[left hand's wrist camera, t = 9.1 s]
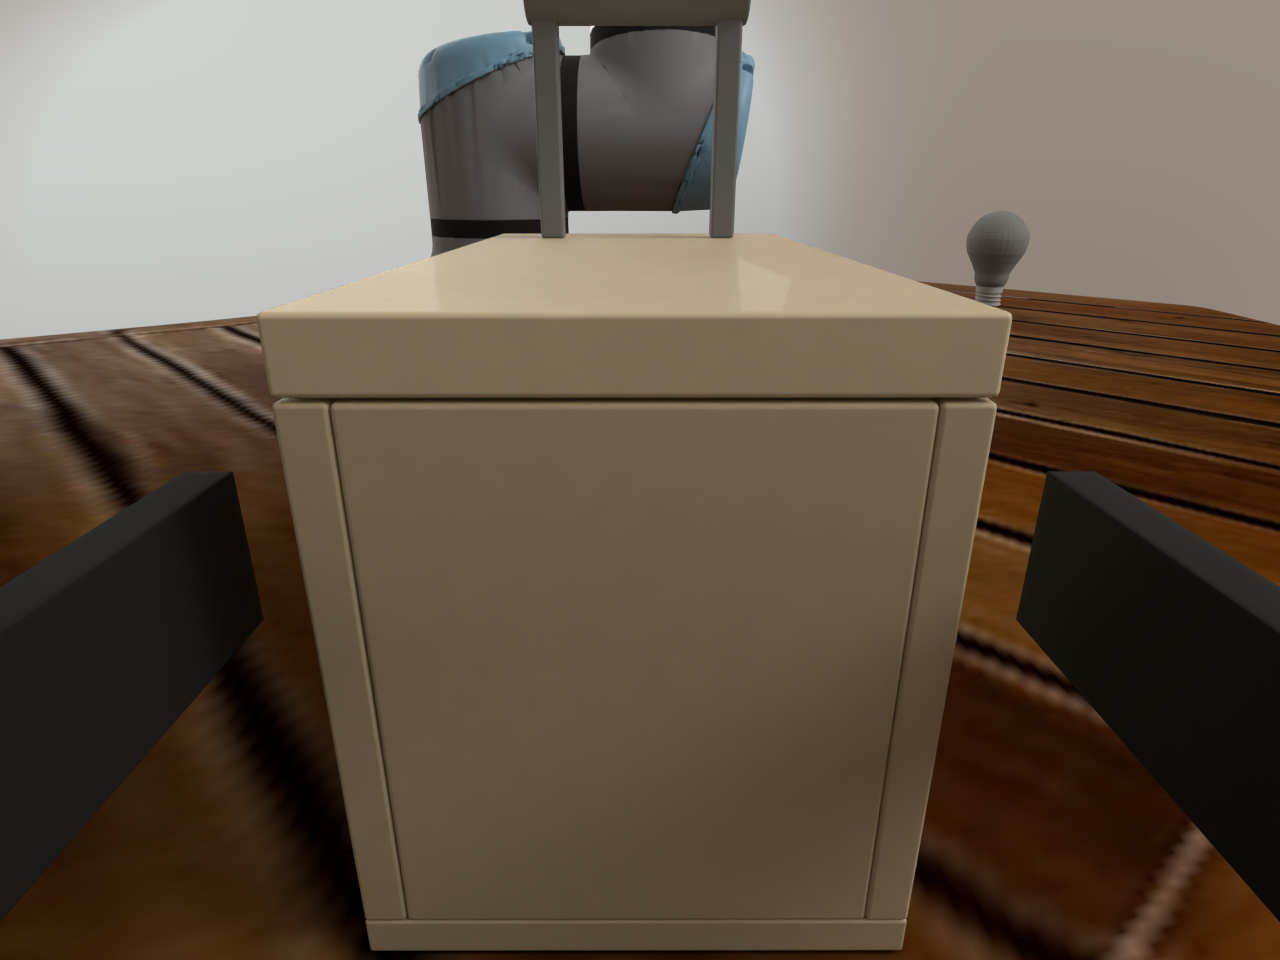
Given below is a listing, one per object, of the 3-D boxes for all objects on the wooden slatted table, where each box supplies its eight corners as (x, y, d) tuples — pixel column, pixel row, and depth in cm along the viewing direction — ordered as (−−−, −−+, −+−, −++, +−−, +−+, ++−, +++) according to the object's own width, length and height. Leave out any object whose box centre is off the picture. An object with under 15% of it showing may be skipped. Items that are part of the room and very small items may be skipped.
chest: (516, 537, 29) (498, 271, 25) (759, 537, 29) (776, 270, 25) (370, 952, 13) (269, 403, 10) (902, 951, 13) (1000, 403, 10)
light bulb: (968, 312, 79) (983, 211, 75) (948, 304, 85) (962, 210, 81) (1026, 313, 79) (1044, 211, 75) (1003, 304, 84) (1019, 210, 81)
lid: (503, 266, 26) (485, -22, 23) (771, 266, 26) (789, -22, 23) (267, 400, 9) (90, -563, 6) (1000, 399, 9) (1171, -562, 6)
